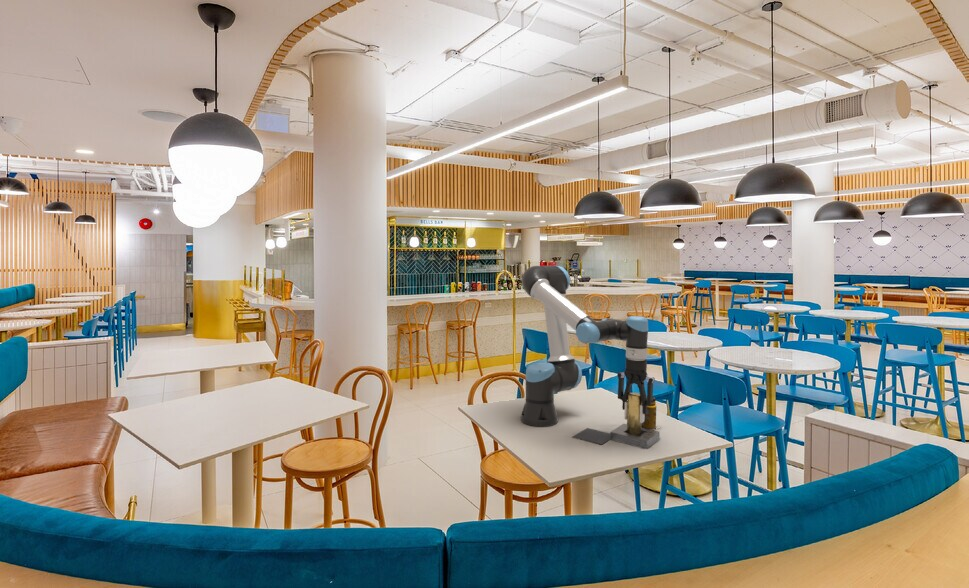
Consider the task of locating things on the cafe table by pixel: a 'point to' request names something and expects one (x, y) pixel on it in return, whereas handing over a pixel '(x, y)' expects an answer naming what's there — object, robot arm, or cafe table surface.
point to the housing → (635, 437)
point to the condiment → (650, 417)
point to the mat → (593, 436)
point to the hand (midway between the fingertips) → (634, 420)
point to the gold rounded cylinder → (634, 413)
